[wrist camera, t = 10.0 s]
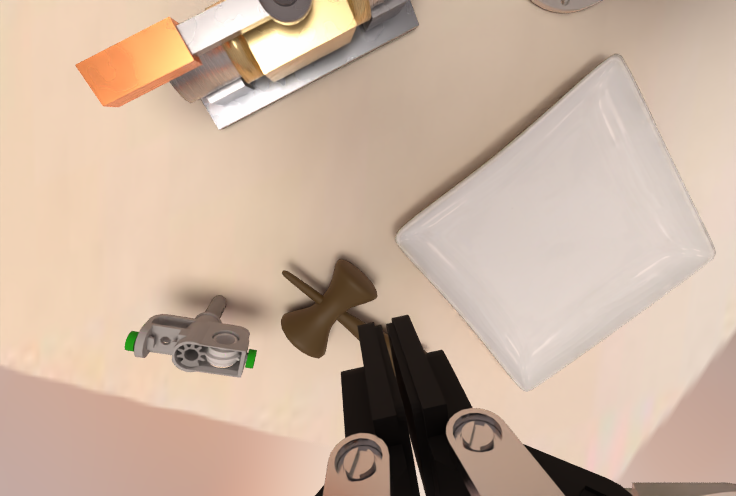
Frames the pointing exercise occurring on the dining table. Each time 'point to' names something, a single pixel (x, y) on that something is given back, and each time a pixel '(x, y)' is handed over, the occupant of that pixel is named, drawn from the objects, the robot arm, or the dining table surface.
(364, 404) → the robot arm
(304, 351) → the kendama
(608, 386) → the dining table surface
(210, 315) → the mechanical component
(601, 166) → the square plate
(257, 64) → the ball valve
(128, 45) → the lever
